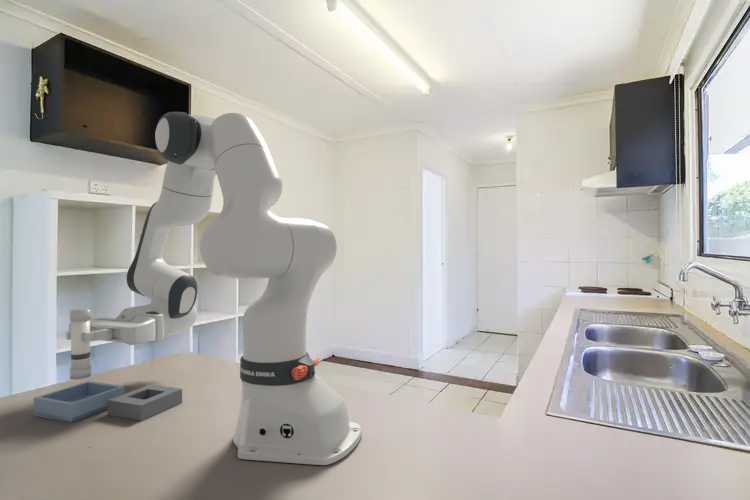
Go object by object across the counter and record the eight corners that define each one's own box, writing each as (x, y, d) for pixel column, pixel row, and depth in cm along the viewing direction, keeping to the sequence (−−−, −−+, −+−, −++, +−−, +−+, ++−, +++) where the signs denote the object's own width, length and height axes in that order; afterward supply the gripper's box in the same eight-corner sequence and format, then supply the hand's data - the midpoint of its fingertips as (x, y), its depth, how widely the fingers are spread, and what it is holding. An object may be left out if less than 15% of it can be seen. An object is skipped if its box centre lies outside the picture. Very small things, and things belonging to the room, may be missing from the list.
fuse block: (182, 402, 87) (182, 388, 87) (141, 421, 78) (141, 405, 78) (150, 397, 90) (150, 384, 90) (107, 414, 81) (107, 399, 81)
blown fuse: (95, 375, 85) (95, 309, 85) (77, 380, 82) (77, 311, 82) (83, 373, 86) (83, 308, 86) (65, 378, 83) (65, 310, 83)
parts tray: (124, 402, 87) (124, 386, 87) (71, 422, 77) (71, 404, 77) (88, 396, 91) (88, 381, 91) (33, 415, 81) (33, 397, 81)
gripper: (105, 309, 100) (42, 318, 87) (168, 314, 93) (111, 324, 80) (105, 335, 100) (42, 348, 87) (168, 341, 93) (111, 356, 80)
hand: (76, 336), depth 83 cm, fingers closed on blown fuse, 3 cm apart
